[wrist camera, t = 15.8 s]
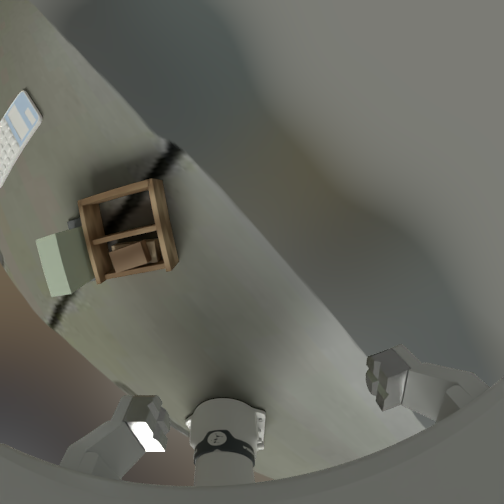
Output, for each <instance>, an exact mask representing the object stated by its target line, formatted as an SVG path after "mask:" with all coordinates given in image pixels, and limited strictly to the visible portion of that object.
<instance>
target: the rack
mask: <svg viewBox="0 0 504 504" xmlns="http://www.w3.org/2000/svg"><path fill="white" fill-rule="evenodd" d="M145 190H149V195H150V200H151V205H152V210H153V215H154V220H155V224H151V225H147V226H143V227H138V228H134V229H130V230H126V231H122V232H118V233H114V234H110V235H106V236H105V232H104V228H103V223H102V218H101V213H100V208H99V203H102V202H106V201H109V200H113V199H116V198H119V197H123V196H127V195H130V194H134V193H138V192H141V191H145ZM78 207H79V213H80V218H81V223H82V228H83V232H84V237H85V241H86V245H87V249H88V253H89V257H90V261H91V265H92V268H93V272H94V275H95V279H96V282H97V284H101V283H102V282H104V281H105V280H106V279H111V278H116V277H121V276H127V275H132V274H138V273H143V272H148V271H154V270H159V269H164V268H166V272H168V271H172V269H173V268H174V267H175V266H176V264H177V263H178V262H179V259H178V255H177V251H176V246H175V242H174V237H173V233H172V228H171V223H170V218H169V213H168V208H167V203H166V198H165V192H164V187H163V181H162V180H159V179H153V178H151V179H148V180H144V181H140V182H137V183H133V184H129V185H126V186H122V187H119V188H116V189H112V190H109V191H106V192H103V193H100V194H96V195H93V196H90V197H87V198H84V199H81V200H78ZM156 230H157V234H158V239H159V243H160V247H161V252H162V256H163V259H160V260H159V261H158V262H155V263H147V264H143V265H140V266H137V267H134V268H131V269H128V270H124V271H121V272H118V273H116V272H115V269H113V265H112V261H111V258H110V255H109V249H108V245H107V242H109V241H113V240H117V239H121V238H125V237H130V236H134V235H138V234H143V233H147V232H152V231H156Z"/></svg>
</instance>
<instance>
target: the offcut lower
mask: <svg viewBox="0 0 504 504" xmlns="http://www.w3.org/2000/svg"><path fill="white" fill-rule="evenodd" d="M140 241H141V240H140ZM145 241H146V244H147V247H148V250H149V252H150V255H151V258H152V260H151V261H150V262H148V263H155V262H158V261H159V260H160V259H161V251H160V244H159V239H149V240H145ZM135 242H138V241H131V242H123V243H117V244H115V245H113V246H112V251H113V250H115V249H118V248H121V247H124V246H127V245H130V244H132V243H135Z"/></svg>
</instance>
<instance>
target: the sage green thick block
mask: <svg viewBox="0 0 504 504" xmlns="http://www.w3.org/2000/svg"><path fill="white" fill-rule="evenodd" d="M36 243H37V248H38V252H39V256H40V260H41V264H42V267H43V271H44V274H45V278H46V281H47V284H48V287H49V291H50V294H51V297H54V296H60V295H67V294H72V293H73V292H75V291H76V290H77V289H79V288H80V287H82V286H83V285H85V284H86V283H88V282H89V281H91V280H92V279H94V278H95V275H94V272H93V268H92V265H91V261H90V257H89V253H88V249H87V245H86V241H85V237H84V232H83V228H82V226H81V227H77V228H73V229H70V230H66V231H62V232H59V233H55V234H52V235H49V236H46V237H43V238H40V239H37V240H36Z"/></svg>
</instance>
